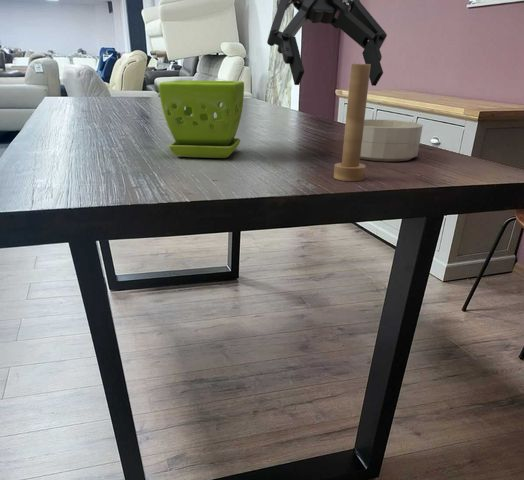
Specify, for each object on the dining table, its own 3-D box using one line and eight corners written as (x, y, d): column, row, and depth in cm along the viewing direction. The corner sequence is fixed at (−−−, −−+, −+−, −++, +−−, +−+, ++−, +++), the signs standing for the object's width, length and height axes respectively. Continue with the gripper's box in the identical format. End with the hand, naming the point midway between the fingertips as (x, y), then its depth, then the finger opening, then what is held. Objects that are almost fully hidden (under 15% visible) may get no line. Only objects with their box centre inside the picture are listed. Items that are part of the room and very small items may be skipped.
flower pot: (245, 150, 101) (246, 80, 95) (237, 162, 89) (236, 83, 83) (179, 147, 102) (174, 78, 96) (161, 159, 90) (155, 81, 84)
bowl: (393, 149, 106) (397, 118, 103) (431, 161, 95) (438, 127, 92) (333, 151, 102) (336, 119, 99) (366, 163, 91) (370, 128, 88)
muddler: (355, 174, 82) (368, 64, 74) (370, 180, 78) (384, 64, 70) (328, 175, 81) (337, 63, 73) (341, 182, 77) (353, 63, 69)
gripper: (367, -2, 89) (396, 96, 85) (234, -11, 82) (259, 96, 78) (386, -44, 82) (419, 61, 78) (242, -57, 75) (270, 57, 71)
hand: (339, 79), depth 78 cm, fingers open, 13 cm apart
